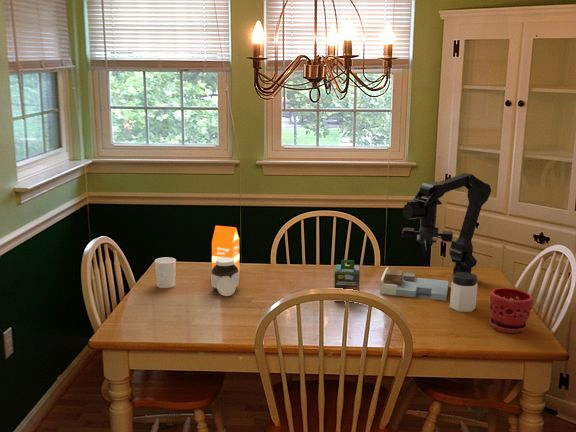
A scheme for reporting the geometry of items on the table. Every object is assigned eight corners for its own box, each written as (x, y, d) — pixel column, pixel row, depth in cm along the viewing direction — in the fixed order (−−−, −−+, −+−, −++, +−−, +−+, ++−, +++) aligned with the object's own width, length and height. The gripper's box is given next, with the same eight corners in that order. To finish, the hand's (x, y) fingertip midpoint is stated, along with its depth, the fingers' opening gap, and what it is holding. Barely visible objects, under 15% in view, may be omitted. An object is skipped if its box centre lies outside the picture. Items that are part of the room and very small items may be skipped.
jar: (480, 310, 236) (483, 277, 233) (461, 313, 233) (464, 280, 230) (463, 302, 244) (465, 270, 241) (445, 305, 241) (447, 273, 238)
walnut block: (402, 280, 259) (402, 270, 258) (400, 285, 253) (401, 275, 252) (386, 279, 260) (387, 269, 259) (384, 284, 254) (385, 273, 254)
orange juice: (232, 279, 265) (232, 229, 260) (211, 276, 267) (211, 227, 263) (239, 273, 272) (239, 225, 268) (219, 270, 275) (218, 223, 270)
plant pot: (520, 339, 212) (523, 303, 210) (480, 328, 221) (483, 293, 218) (535, 327, 222) (539, 293, 219) (497, 317, 230) (500, 283, 228)
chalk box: (359, 294, 250) (360, 256, 247) (359, 303, 241) (360, 263, 238) (334, 293, 251) (335, 255, 248) (333, 301, 242) (334, 262, 239)
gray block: (414, 283, 262) (415, 273, 262) (413, 286, 259) (414, 276, 258) (404, 282, 264) (404, 272, 263) (402, 285, 260) (403, 275, 259)
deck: (448, 287, 260) (449, 273, 258) (445, 301, 245) (447, 286, 243) (385, 280, 266) (386, 267, 265) (379, 294, 251) (380, 279, 250)
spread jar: (229, 284, 259) (228, 255, 257) (248, 291, 251) (248, 261, 249) (204, 291, 251) (203, 261, 248) (223, 299, 243) (223, 268, 241)
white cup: (151, 287, 254) (150, 261, 252) (162, 281, 262) (162, 256, 259) (169, 290, 252) (168, 264, 249) (180, 283, 259) (179, 258, 256)
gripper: (401, 219, 249) (398, 260, 252) (453, 223, 244) (449, 264, 247) (404, 212, 259) (402, 252, 263) (454, 216, 254) (451, 256, 258)
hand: (425, 256), depth 257 cm, fingers closed
